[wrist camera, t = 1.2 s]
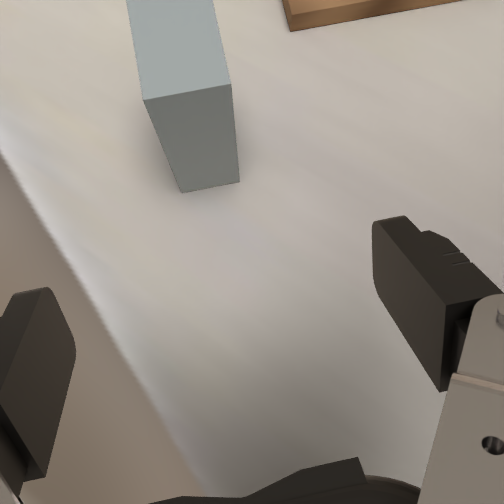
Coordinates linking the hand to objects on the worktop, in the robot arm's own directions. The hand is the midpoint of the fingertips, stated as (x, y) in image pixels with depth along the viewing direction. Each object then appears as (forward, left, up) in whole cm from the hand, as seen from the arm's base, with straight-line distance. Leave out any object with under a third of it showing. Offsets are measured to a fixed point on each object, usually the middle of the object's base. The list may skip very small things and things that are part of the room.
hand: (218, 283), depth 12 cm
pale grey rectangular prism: (0, -11, -15) cm, 19 cm away
